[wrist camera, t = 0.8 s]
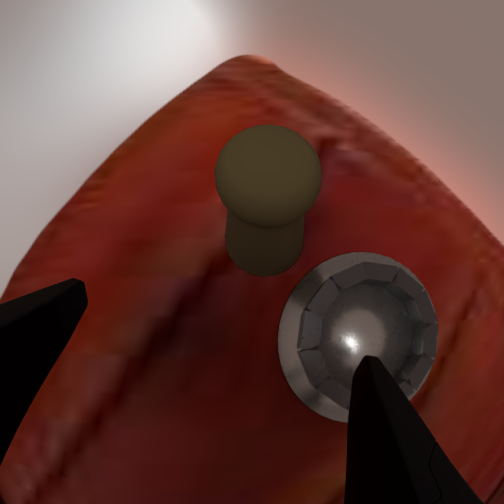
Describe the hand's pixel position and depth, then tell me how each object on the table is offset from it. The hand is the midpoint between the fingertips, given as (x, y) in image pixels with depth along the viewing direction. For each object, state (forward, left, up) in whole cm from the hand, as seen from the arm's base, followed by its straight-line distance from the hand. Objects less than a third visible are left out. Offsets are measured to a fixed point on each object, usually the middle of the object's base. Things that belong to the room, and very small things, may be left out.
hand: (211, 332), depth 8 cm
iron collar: (-4, -8, -13) cm, 16 cm away
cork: (+6, -4, -13) cm, 16 cm away
